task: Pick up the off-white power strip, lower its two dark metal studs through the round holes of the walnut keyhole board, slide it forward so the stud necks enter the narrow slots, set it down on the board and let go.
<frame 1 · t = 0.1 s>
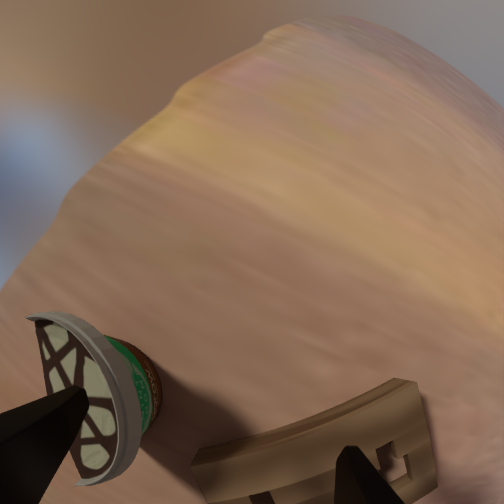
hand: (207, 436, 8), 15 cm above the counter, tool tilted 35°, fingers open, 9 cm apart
keyhole board: (320, 473, 19), on the counter
food container: (141, 383, 22), on the counter
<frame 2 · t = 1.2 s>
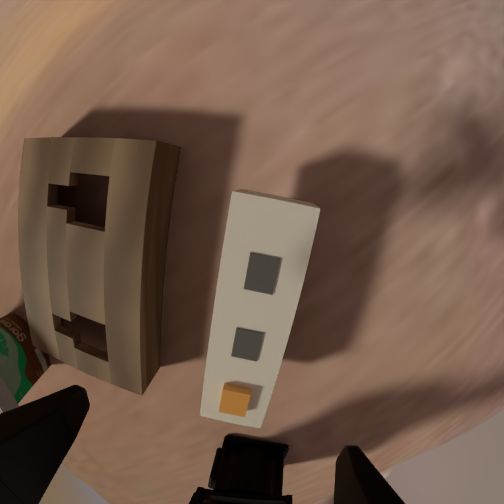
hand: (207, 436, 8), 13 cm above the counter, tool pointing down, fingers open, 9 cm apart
keyhole board: (98, 255, 21), on the counter
power strip: (258, 293, 20), on the counter
food container: (22, 328, 25), on the counter
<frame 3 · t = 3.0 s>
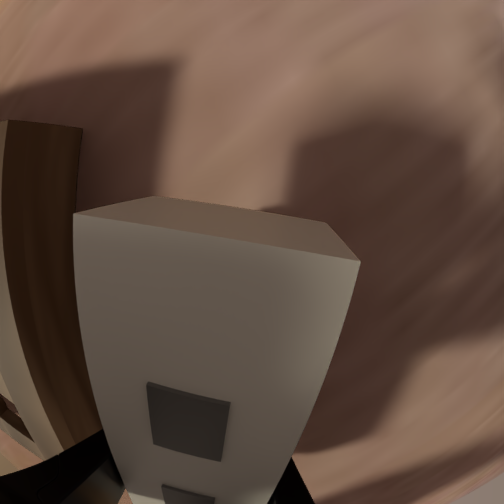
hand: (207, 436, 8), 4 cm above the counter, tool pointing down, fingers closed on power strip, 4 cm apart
keyhole board: (9, 299, 12), on the counter
power strip: (226, 372, 11), on the counter, touching gripper
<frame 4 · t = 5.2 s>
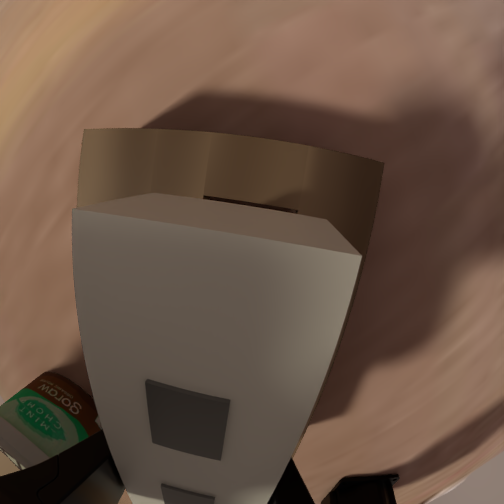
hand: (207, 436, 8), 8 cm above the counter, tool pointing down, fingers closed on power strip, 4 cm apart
keyhole board: (213, 312, 16), on the counter
power strip: (226, 371, 11), point 5 cm above the counter, touching gripper
food container: (68, 389, 20), on the counter
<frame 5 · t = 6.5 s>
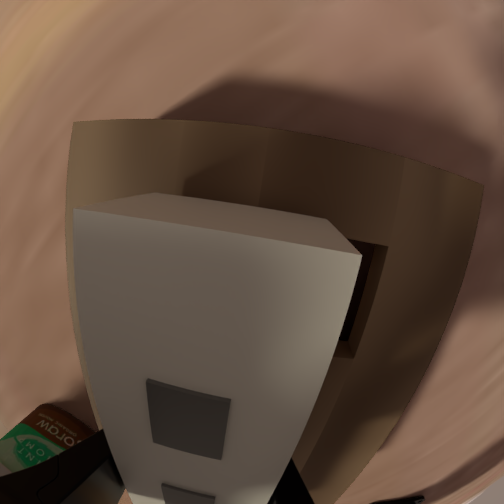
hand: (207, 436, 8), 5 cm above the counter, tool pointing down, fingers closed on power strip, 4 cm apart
keyhole board: (246, 356, 13), on the counter
power strip: (226, 371, 11), point 2 cm above the counter, touching gripper
food container: (70, 423, 17), on the counter
when the fingers open (5 cm above the counter, at t = 7.4 s): power strip stays where it is, resting on keyhole board.
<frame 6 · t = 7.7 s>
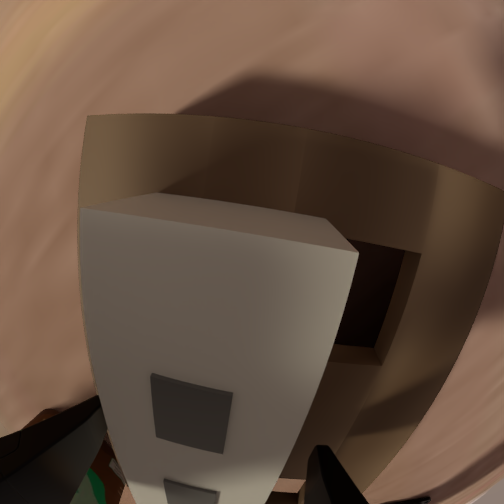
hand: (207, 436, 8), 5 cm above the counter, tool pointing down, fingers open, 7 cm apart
keyhole board: (263, 362, 12), on the counter
power strip: (226, 368, 11), point 1 cm above the counter, touching keyhole board
food container: (75, 428, 16), on the counter
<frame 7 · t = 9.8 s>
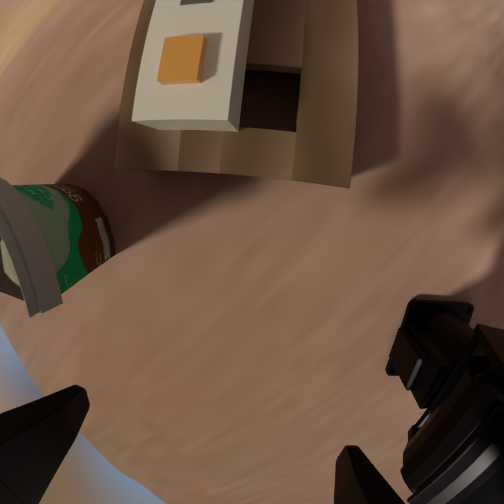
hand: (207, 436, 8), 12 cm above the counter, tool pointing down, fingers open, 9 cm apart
keyhole board: (249, 41, 15), on the counter
power strip: (224, 34, 14), point 1 cm above the counter, touching keyhole board
food container: (69, 208, 19), on the counter
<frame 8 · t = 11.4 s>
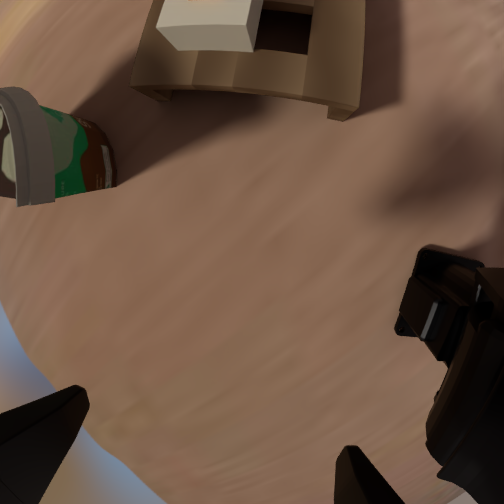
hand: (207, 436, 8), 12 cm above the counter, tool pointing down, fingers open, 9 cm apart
food container: (75, 142, 18), on the counter
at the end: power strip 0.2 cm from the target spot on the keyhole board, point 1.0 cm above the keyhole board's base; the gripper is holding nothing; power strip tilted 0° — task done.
